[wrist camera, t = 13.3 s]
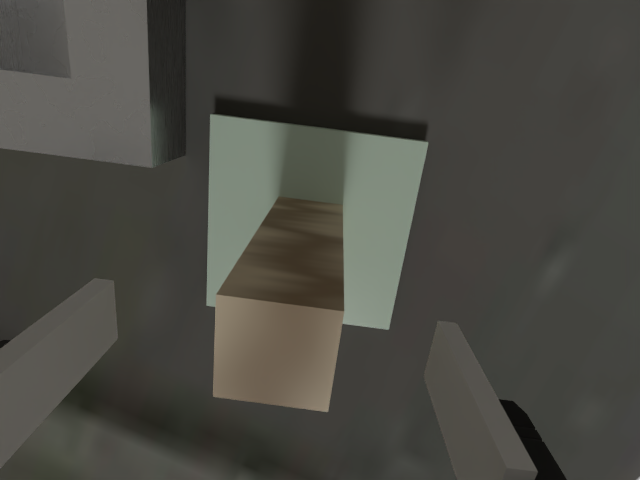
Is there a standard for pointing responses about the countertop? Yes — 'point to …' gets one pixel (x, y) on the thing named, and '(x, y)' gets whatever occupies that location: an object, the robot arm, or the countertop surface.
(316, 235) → the square peg
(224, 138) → the pad
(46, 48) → the hole block
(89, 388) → the countertop surface
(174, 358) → the countertop surface
